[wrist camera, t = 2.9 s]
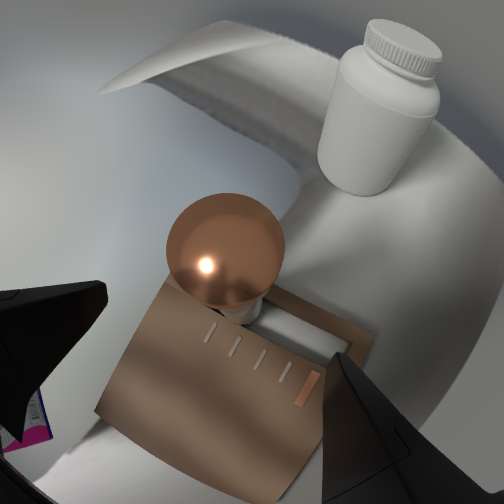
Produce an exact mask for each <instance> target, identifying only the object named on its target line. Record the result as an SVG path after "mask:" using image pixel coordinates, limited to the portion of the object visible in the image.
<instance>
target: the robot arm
mask: <svg viewBox="0 0 504 504" xmlns="http://www.w3.org/2000/svg"><path fill="white" fill-rule="evenodd" d="M107 303H108V295H107V287H106V284H105V283H104V282H101V281H99V280H95V281H86V282H77V283H70V284H61V285H53V286H44V287H37V288H27V289H21V290H20V289H17V290H7V291H0V431H1V430H2V428H4V429H5V430H6V431H7V432H8V433H9V434H10V435H11V436H12V437H14V438H15V439H16V440H17V441H18V442H19V443H20V444H22V441H23V434H24V427H25V420H26V413H27V408H28V403H29V401H30V399H31V397H32V396H33V394H34V393H35V392H36V391H37V389H38V388H39V387H40V386H41V385H42V383H43V382H44V381H45V379H46V378H47V377H48V376H49V375H50V374H51V372H52V371H53V370H54V369H55V368H56V366H57V365H58V364H59V363H60V362H61V361H62V359H63V358H64V357H65V356H66V355H67V354H68V352H69V351H70V350H71V349H72V348H73V347H74V346H75V344H76V343H77V342H78V341H79V340H80V339H81V338H82V337H83V336H84V334H85V333H86V332H87V331H88V330H89V329H90V327H91V326H92V325H93V323H94V322H95V321H96V319H97V318H98V317H99V315H100V314H101V312H102V311H103V310H104V308H105V307H106V306H107ZM322 411H323V478H322V504H504V490H501V491H499V492H496V493H493V494H491V493H488V492H486V491H485V490H483V489H482V488H481V487H480V486H479V485H478V484H477V483H475V482H474V481H473V480H472V479H471V478H470V477H468V476H467V475H466V474H465V473H464V472H463V471H462V470H461V469H459V468H458V467H457V466H456V465H455V464H453V462H451V461H450V460H449V459H448V458H447V457H446V456H445V455H444V454H443V453H441V452H440V451H439V450H438V449H437V448H436V447H434V445H432V444H431V443H430V442H429V441H428V440H427V439H426V438H425V437H424V436H423V435H421V433H420V432H418V431H417V430H416V429H415V428H414V427H413V425H412V424H411V423H410V422H409V421H408V420H407V419H406V418H405V417H404V416H403V415H402V414H400V412H399V411H398V410H397V409H396V408H395V406H394V405H393V404H392V403H391V402H390V401H389V400H388V399H387V398H386V397H385V396H384V394H383V393H382V392H381V391H380V390H379V389H378V388H377V387H376V386H375V385H374V383H373V382H372V381H371V380H370V379H369V378H368V377H367V376H366V375H365V374H364V372H363V371H362V370H361V369H360V368H359V367H358V366H357V365H356V364H355V363H354V362H353V360H352V359H351V358H350V357H349V356H348V355H347V354H345V353H341V352H336V353H335V354H334V355H333V357H332V359H331V361H330V363H329V364H328V366H327V369H326V374H325V384H324V394H323V404H322ZM0 504H58V503H57V502H56V501H54V500H53V499H52V498H50V497H49V496H47V495H46V494H45V493H44V492H42V491H41V490H40V489H38V488H37V487H36V486H35V485H33V484H32V483H31V482H30V481H29V480H28V479H26V478H25V477H24V476H23V475H21V473H20V472H18V471H17V470H16V469H15V468H14V467H13V466H12V465H11V464H10V463H9V462H8V461H7V460H6V459H5V458H4V455H3V448H2V441H1V435H0Z"/></svg>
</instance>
